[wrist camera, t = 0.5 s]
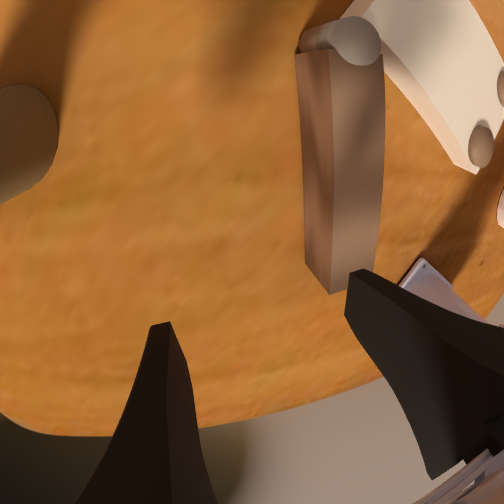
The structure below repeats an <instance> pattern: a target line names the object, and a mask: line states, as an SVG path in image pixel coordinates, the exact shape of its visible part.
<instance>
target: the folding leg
mask: <svg viewBox="0 0 504 504" xmlns="http://www.w3.org/2000/svg"><path fill="white" fill-rule="evenodd" d="M299 49H300V52H301V53H300V54H295V65H296V75H297V87H298V99H299V112H300V127H301V144H302V163H303V186H304V220H305V264H306V265H307V266H308V268H309V269H310V270H311V271H312V273H313V274H314V275H315V277H316V278H317V279H318V281H319V282H320V283H321V285H322V286H323V287H324V288H325V290H326V291H327V292H328V294H329V295H331V294H334V293H337V292H340V291H343V290H346V289H348V281H349V273H350V272H354V271H357V270H360V269H363V268H364V269H366V270H369V271H371V272H373V267H374V260H375V253H376V246H377V238H378V230H379V221H380V211H381V200H382V188H383V173H384V152H385V84H384V64H383V54H380V52H381V40H380V36H379V34H378V32H377V30H376V28H375V27H374V26H373V25H372V24H371V23H370V22H369V21H368V20H366V19H364V18H362V17H358V16H350V17H346V18H342V19H338V20H335V21H331V22H328V23H324V24H321V25H318V26H314V27H311V28H309V29H307V30H305V31H304V32H303V33H302V34H301V36H300V39H299Z"/></svg>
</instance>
